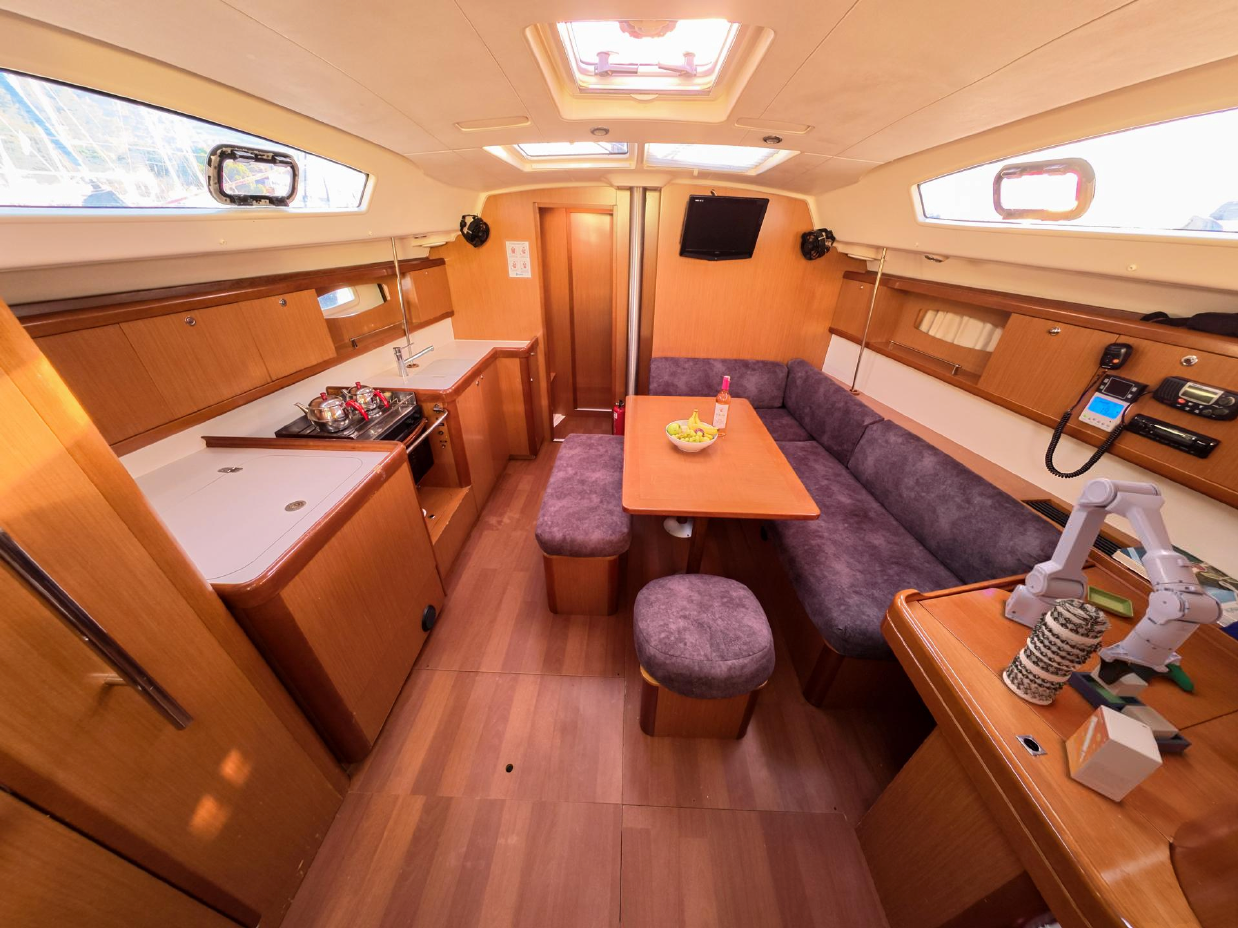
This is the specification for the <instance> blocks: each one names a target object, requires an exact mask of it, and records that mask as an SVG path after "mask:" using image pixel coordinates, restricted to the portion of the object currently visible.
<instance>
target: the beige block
mask: <svg viewBox="0 0 1238 928" xmlns="http://www.w3.org/2000/svg"><path fill="white" fill-rule="evenodd" d="M1121 713H1123V714H1124V715H1126V716H1128V717H1130V718H1132V719H1135V720H1137V721H1139V722H1141V723H1143V724H1145V725H1147V726H1150V728H1151V731H1152V733H1153V736H1154V739H1171V738H1172V737H1173V736H1174V735H1175V734H1177V733H1180V730H1179V729H1177V727H1175V726H1174V725H1173V724H1172V723H1171V722H1170V721H1168V720H1167V719H1166V718H1165V717H1164V716H1162V715H1161V714H1160V713H1159V712H1158V711H1156V710H1155V709H1154V708H1153V707H1151V706H1149V705H1147V706H1126V707H1125V708H1124V709H1123V710H1122V711H1121Z"/></svg>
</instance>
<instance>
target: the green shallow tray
mask: <svg viewBox="0 0 1238 928" xmlns="http://www.w3.org/2000/svg"><path fill="white" fill-rule="evenodd" d="M1087 601H1088V603H1090V604H1092V605H1094V606H1095V607H1097V608H1098V609H1100V610H1104V611H1106V612H1109V613H1111V614H1114V615H1116V616H1119V617H1121V618H1131V617H1134V610H1133V602H1132V600H1131V599H1127V598H1125V597H1122V596H1120V595H1117V594H1114V593H1111V592H1108V591H1106V590H1104V589H1101V588H1098V587H1095V586H1093V585H1088V584H1087Z"/></svg>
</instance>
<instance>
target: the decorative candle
mask: <svg viewBox="0 0 1238 928" xmlns="http://www.w3.org/2000/svg"><path fill="white" fill-rule="evenodd" d="M1041 615H1042V616H1041V617H1040V620H1038V621H1037V623H1038V624H1036V625H1035V626H1034V627H1035V628H1032V631H1030V632H1029V636H1028V637H1027V640H1026V646H1025V647H1023V648H1022V649H1021V650H1020V651H1018V652H1017V653H1016V655H1015V656H1014V657H1013V659H1012V660H1011V661H1010V662H1009V664H1008V666H1006V668H1005V671H1003V672H1002V673H1003V674H1002V679H1003V681H1004V683H1005V684H1006V685H1007V686H1008V688H1009V689H1010V690H1011V691H1012V692H1014V693H1015V694H1017V695H1018V696H1019V697H1020V698H1022V699H1024V700H1026V701H1028V702H1030V703H1033V704H1036V705H1040V706H1041V705H1043V706H1047V705H1050V704H1051V703H1052V702H1053V700H1056V696H1058V695H1060V693H1059V692H1061V691H1062V690H1063V689H1064V686H1067V685H1068V683H1069V682H1068V678H1069V677H1070V676H1071V673H1072V672H1074V671H1077V670H1079V669H1080V668H1081V667H1082V665H1085V664H1087V661H1088V659H1089V660H1090V659H1092V655H1093V654H1097V653H1098V650H1099V649H1100V648H1103V644H1102V643H1103V642H1102V638H1103V635H1104V634H1105V633H1106V631H1108V630H1110V629H1112V622H1111V621H1110V620H1109V619H1108V617H1107V616H1106V614H1105V612H1103V611H1102V609H1101V608H1099V607H1096V606H1094V605H1092V604H1090V603H1089V602H1087V601H1084V600H1083V599H1082V600H1078V599H1057V600H1055V606H1054V607H1053V610H1051V611H1049V612H1048V613H1042V614H1041ZM1045 616H1046V618H1045Z"/></svg>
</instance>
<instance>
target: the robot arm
mask: <svg viewBox="0 0 1238 928" xmlns="http://www.w3.org/2000/svg"><path fill="white" fill-rule="evenodd" d="M1165 503H1166V501H1165V499H1164V497H1163V496H1162V491H1161V490H1160V488H1159V487H1158V486H1157V485H1156V484H1153V483H1151V482H1144V481H1143V482H1139V481H1138V482H1137V481H1130V480H1129V481H1128V480H1118V479H1109V478H1103V477H1098V478H1094V479H1091V480H1088V481H1086V482H1085V483H1084V485H1083V487H1082V490H1081V492H1080V494H1079V497H1078V498H1077V500H1076V502H1075V504H1074V507H1073V508H1072V511H1071V513H1070V515H1069V517H1068V520H1067V522H1066V524H1065V527H1064V529H1063V531H1062V534H1061V535H1060V538H1059V540H1058V543H1057V545H1056V548H1055V550H1054V552H1053V554H1052V556H1051V559H1050V560H1047V561H1044V562H1041V563H1038V564H1037V563H1036V564H1035V565H1034V567H1033V569H1032V570H1031V571H1030V572H1029V573H1028V574H1027V575H1026V577H1025V583H1024V584H1025V585H1023V584H1017V585H1016V587H1014V590H1012V593H1011V594H1010V596H1009V597H1008V599H1007V600H1006V602H1005V612H1004V615H1005V618H1007V619H1009V620H1013V621H1014V622H1017V623H1020V624H1022V625H1024V626H1027V627H1029V628H1031V629H1033V628H1035V627H1034V626H1035V625H1036V624H1038V623H1037V621H1038V620H1040V617H1041V616H1042V615H1041V614H1042V613H1048V612H1049V611H1051V610H1053V607H1054V606H1055V600H1057V599H1078V600H1082V601H1083V600H1084V599H1085V598H1086V595H1087V593H1088V589H1087V586H1088V582H1089V578H1088V576H1087V575H1086V574H1085V573H1084V572H1083V571H1082V569H1083V567H1084V565H1085V563H1086V561H1087V559H1088V557H1089V554H1090V552H1091V550H1092V548H1093V546H1094V544H1095V541H1096V540H1097V537H1098V535H1099V533H1100V531H1101V529H1102V527H1103V525H1104V523H1105V520H1106V518H1107V516H1108V515H1111V514H1115V515H1117V516H1120V517H1122V518H1125V519H1126V520H1128V521H1129V523H1130V525H1131V527H1132V529H1133V530H1134V533H1135V534H1136V536H1137V538H1138V540H1139V541H1140V543H1141V545H1142V547H1143V548H1144V550H1145V552H1146V553H1145V554H1144V555H1143V556H1142V558H1141V559H1140V561H1141V563H1142V565H1143V568H1144V571H1145V572H1146V574H1147V577H1148V579H1149V581H1150V584H1151V586H1152V588H1153V591H1154V592H1153V591H1151V592H1150V594H1149V596H1148V607H1147V608H1146V610H1145V615H1144V616H1143V617H1142V619H1141V620H1139V622H1138V623H1137V624H1136V625H1135V627H1134V628H1133V629H1132V630H1131V631H1130V632H1129V634H1128V635H1127V636H1126V637H1125V638H1124V639H1123V640H1121V641H1119V642H1117V643H1115V644H1112V645H1110V646H1108V647H1099V649H1098V650H1097V655H1098V656H1099V660H1100V663H1101V664H1100V663H1099V664H1100V669H1099V673H1098V677H1099V678H1100V679H1101V680H1102V681H1103V682H1104V683H1105V684H1107V685H1111V684H1114V683H1115V682H1117V681H1118V680H1119V679H1121V678H1122V677H1124V676H1126V675H1128V674H1132V673H1135V674H1136V675H1137V676H1138V677H1139V678H1141V679H1142V680H1143V681H1144V682H1147V680H1148V681H1149V680H1152V679H1154V678H1158V677H1161V676H1162V675H1166V674H1171V673H1172V672H1173V670H1172V669H1171V668H1170V667H1169V666H1167V664H1169V663H1171V664H1177V663H1178V662H1180V661H1181V660H1182V659H1183V657H1181V655H1179V654H1177V653H1176V652H1175V651H1177V650H1178V649H1179V648H1180V647H1181V646H1182V645H1183V644H1184V642H1186V641H1187V639H1188V638H1189V637H1190V636H1192V634H1193V633H1194V632H1195V631H1196V630H1197V629H1198V628H1199V627H1200V626H1201V624H1206V625H1207V624H1208V625H1209V624H1215V623H1217V622H1219V621H1220V620H1221V619H1222V618H1223V615H1224V609H1223V606H1222V602H1221V601H1220V600H1219V598H1217V597H1215V596H1214V595H1213V594H1210V593H1209V592H1208V591H1207V589H1205V588H1204V587H1202V586H1201V584H1200V582H1199V580H1198V578H1197V576H1196V574H1195V572H1194V569H1193V568H1192V567H1193V566H1192V563H1191V561H1190V560H1188V558H1187V557H1186V556H1185V555H1183V554H1181V553H1178V552H1177V551H1174V548H1173V545H1172V541H1171V539H1170V536H1169V533H1168V530H1167V527H1166V525H1165V522H1164V519H1163V516H1162V513H1161V509H1162V508H1163V507H1164V504H1165ZM1045 618H1046V616H1045Z"/></svg>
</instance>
